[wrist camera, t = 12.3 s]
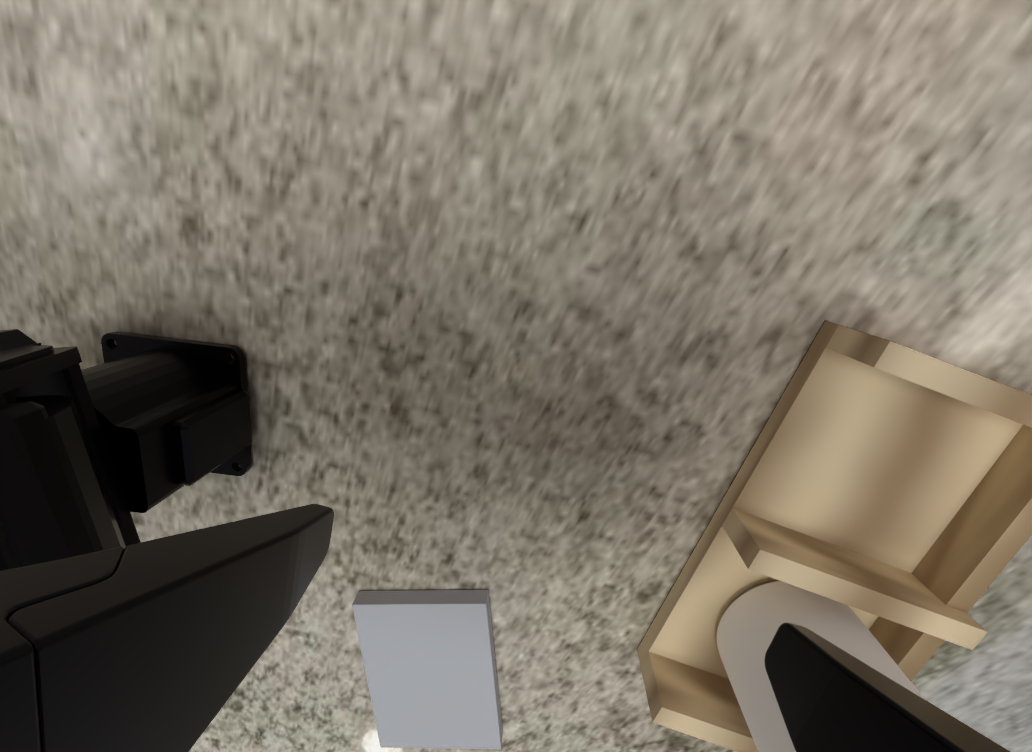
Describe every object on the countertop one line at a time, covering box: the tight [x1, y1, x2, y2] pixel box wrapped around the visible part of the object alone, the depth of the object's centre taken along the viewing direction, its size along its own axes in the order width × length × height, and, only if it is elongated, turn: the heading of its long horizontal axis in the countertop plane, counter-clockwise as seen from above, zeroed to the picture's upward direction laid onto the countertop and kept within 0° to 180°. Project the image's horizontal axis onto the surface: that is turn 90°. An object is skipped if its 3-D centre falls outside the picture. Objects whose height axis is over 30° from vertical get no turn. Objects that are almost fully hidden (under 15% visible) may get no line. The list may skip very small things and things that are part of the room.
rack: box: [637, 321, 1032, 752], centre depth 21 cm, size 10×19×4 cm, turn 160°
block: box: [352, 590, 503, 749], centre depth 26 cm, size 7×10×1 cm
